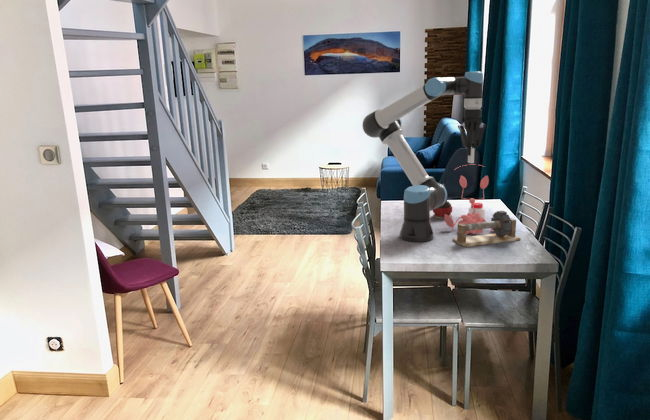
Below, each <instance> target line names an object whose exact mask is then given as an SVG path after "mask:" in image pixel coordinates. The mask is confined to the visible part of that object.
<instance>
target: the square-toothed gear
mask: <svg viewBox="0 0 650 420" xmlns="http://www.w3.org/2000/svg"><path fill="white" fill-rule="evenodd" d="M510 218H511V217H510V215H509V214H508V212H507V211H505V210H496V212H494V213H493V214H492V217H491V218H490V220H491V221H497V220H500V221H501V228H493V230H492V231H493V233H496V235H497V236H499V237H502V236H506V235H508V234H509V232H510V230H511V227H512V223H511V222H509V221H510V220H511V219H510Z"/></svg>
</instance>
